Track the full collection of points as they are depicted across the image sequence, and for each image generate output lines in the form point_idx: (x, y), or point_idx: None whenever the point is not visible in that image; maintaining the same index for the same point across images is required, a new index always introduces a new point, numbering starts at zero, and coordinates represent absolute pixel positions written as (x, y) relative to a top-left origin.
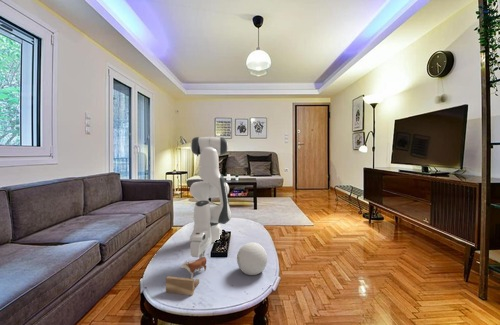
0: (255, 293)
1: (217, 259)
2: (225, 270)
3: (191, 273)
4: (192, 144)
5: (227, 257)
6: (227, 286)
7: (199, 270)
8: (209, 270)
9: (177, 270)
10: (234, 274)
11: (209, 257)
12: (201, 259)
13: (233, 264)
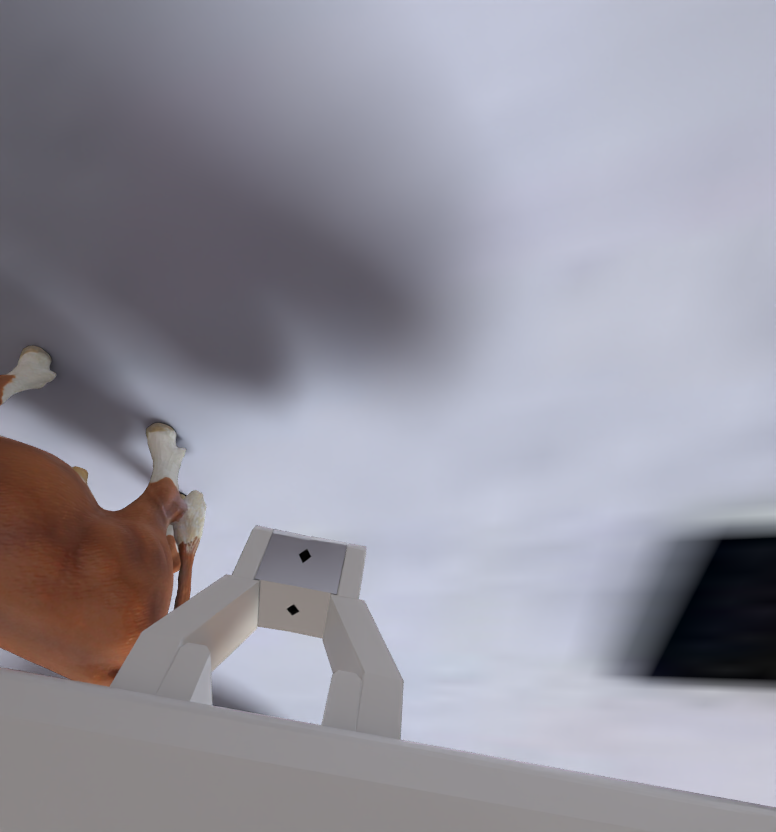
0: None
1: (569, 603)
2: (274, 657)
3: (10, 379)
4: None
5: (607, 680)
6: (10, 660)
7: (158, 462)
8: (245, 543)
9: (113, 25)
10: (213, 701)
11: (677, 518)
12: (4, 647)
13: (411, 707)
